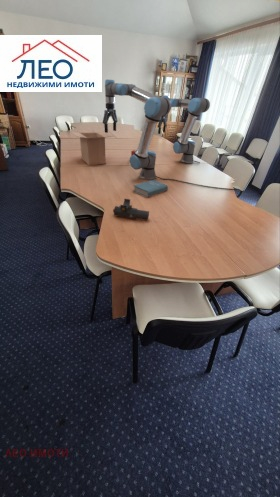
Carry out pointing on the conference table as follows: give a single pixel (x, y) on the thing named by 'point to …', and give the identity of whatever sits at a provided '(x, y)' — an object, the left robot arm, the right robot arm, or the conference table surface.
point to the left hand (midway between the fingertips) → (110, 131)
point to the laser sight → (130, 211)
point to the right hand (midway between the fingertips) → (161, 133)
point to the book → (150, 188)
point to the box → (92, 146)
